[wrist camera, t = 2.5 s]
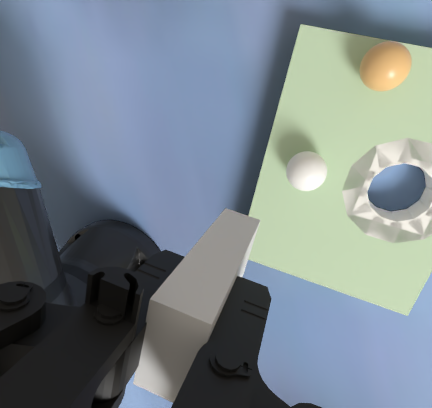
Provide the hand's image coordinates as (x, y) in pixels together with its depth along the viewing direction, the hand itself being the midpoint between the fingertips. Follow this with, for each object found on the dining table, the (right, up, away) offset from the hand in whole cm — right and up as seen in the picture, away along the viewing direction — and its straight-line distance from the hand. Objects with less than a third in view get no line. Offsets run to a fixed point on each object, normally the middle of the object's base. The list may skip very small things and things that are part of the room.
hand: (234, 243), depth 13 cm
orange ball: (+12, +12, +10) cm, 19 cm away
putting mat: (+13, +4, +17) cm, 22 cm away
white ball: (+7, +4, +14) cm, 16 cm away
